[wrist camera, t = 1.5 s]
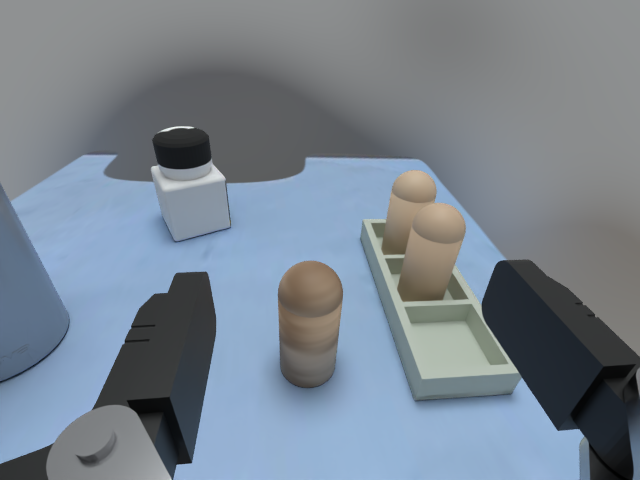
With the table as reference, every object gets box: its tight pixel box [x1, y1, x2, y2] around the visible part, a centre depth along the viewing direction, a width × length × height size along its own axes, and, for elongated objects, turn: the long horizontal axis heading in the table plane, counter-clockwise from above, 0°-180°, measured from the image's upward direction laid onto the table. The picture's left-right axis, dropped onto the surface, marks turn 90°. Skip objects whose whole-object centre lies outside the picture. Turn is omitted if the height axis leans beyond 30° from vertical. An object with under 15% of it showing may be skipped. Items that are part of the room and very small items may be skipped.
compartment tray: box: [360, 170, 522, 401], centre depth 34 cm, size 22×8×11 cm, turn 6°
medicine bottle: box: [151, 127, 231, 241], centre depth 43 cm, size 7×7×12 cm
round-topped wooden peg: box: [278, 261, 343, 388], centre depth 27 cm, size 5×5×10 cm
